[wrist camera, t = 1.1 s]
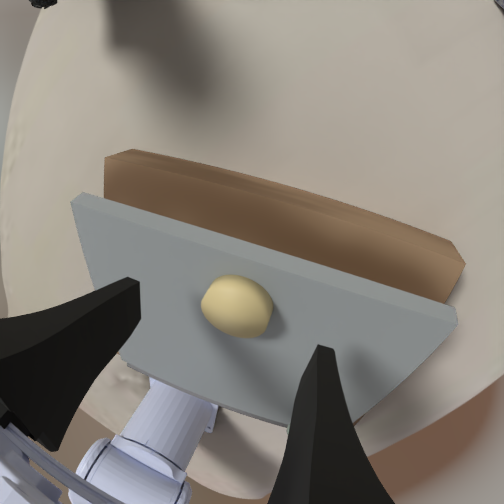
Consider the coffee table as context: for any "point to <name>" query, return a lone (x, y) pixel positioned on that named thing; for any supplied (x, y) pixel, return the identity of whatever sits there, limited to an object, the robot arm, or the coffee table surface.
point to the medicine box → (500, 3)
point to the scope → (43, 3)
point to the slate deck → (252, 314)
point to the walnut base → (286, 221)
